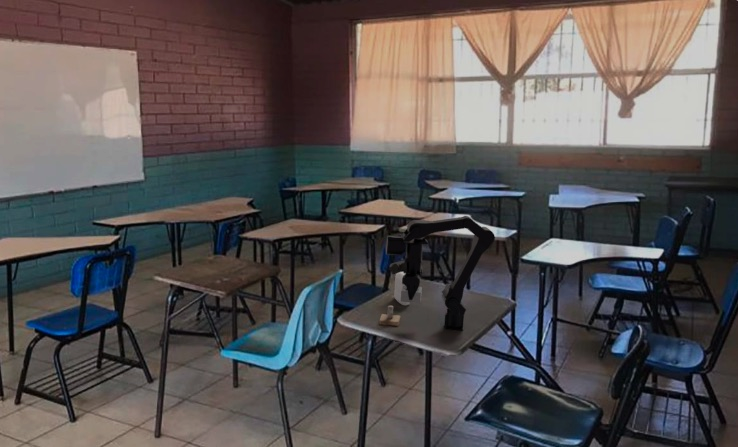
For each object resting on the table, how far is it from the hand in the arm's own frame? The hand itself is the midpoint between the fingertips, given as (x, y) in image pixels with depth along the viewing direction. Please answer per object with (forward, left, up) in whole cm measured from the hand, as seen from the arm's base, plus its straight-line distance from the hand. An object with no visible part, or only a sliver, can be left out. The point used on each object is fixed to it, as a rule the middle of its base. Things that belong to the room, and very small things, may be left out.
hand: (411, 296), depth 228 cm
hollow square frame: (0, 0, -1) cm, 1 cm away
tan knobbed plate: (+8, -3, -11) cm, 14 cm away
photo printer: (+6, -28, -12) cm, 30 cm away
